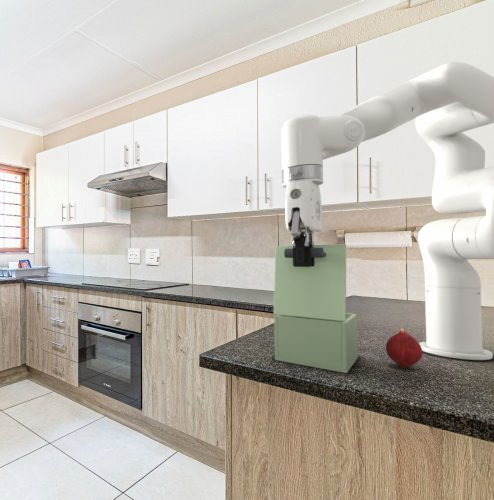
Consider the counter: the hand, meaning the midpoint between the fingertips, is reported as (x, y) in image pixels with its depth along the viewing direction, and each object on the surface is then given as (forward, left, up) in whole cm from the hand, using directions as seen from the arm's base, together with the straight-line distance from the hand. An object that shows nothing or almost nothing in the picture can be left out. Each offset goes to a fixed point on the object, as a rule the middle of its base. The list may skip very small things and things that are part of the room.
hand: (303, 265), depth 72 cm
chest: (-9, 0, -21) cm, 23 cm away
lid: (-4, 0, -3) cm, 5 cm away
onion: (-13, +15, -21) cm, 29 cm away
